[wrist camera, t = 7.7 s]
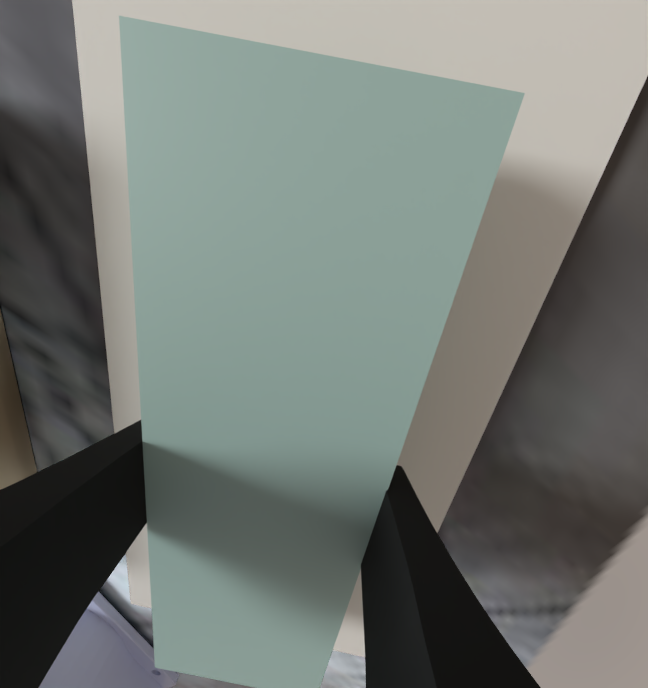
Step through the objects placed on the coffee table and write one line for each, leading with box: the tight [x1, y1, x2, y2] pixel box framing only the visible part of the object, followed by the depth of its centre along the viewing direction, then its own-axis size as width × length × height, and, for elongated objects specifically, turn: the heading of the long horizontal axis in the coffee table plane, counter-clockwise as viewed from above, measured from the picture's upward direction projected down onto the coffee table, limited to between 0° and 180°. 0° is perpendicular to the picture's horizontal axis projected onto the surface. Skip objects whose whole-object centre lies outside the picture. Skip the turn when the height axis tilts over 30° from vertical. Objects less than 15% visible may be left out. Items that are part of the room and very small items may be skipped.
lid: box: [119, 16, 525, 688], centre depth 9 cm, size 17×6×2 cm, turn 170°
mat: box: [72, 0, 648, 657], centre depth 11 cm, size 24×12×1 cm, turn 170°
